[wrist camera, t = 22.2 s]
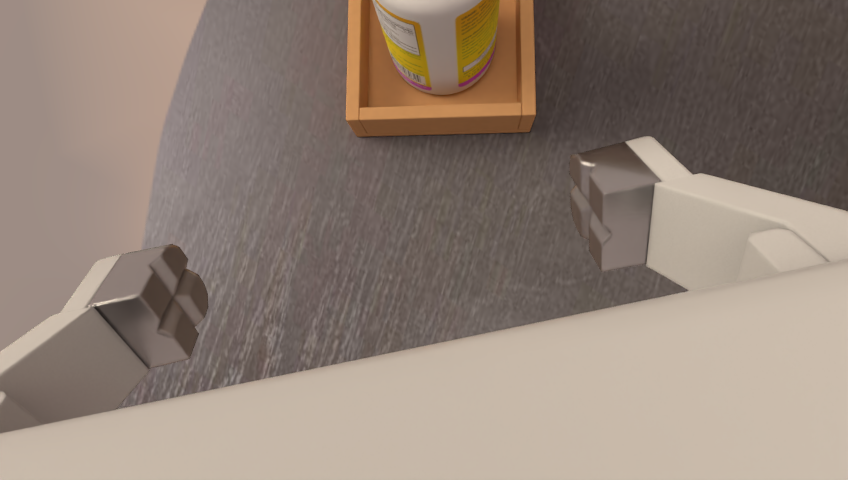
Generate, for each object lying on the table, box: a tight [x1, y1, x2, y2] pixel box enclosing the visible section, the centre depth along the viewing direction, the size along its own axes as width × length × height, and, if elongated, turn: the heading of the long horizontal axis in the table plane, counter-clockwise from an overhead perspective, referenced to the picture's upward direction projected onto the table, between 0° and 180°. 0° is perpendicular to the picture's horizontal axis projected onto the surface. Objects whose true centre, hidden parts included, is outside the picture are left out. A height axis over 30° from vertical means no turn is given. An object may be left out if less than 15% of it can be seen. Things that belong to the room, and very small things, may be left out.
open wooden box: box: [346, 0, 536, 137], centre depth 31 cm, size 11×11×3 cm
